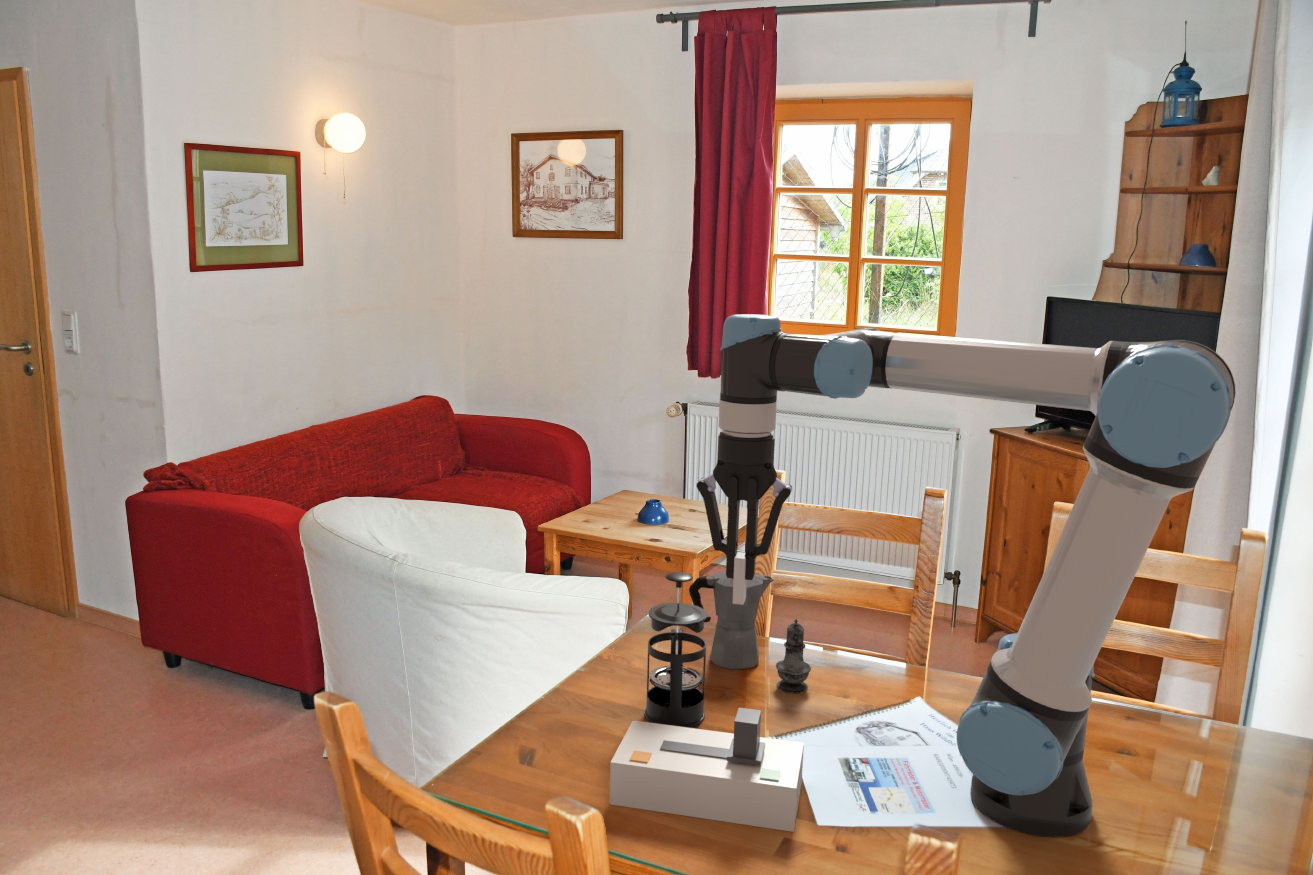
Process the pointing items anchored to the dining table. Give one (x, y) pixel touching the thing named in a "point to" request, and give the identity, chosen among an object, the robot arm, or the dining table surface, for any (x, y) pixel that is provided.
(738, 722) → the grey slider handle
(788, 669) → the salt shaker
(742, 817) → the slider switch box
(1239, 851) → the dining table surface
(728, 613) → the coffeepot
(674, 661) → the french press
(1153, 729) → the dining table surface
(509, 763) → the dining table surface
